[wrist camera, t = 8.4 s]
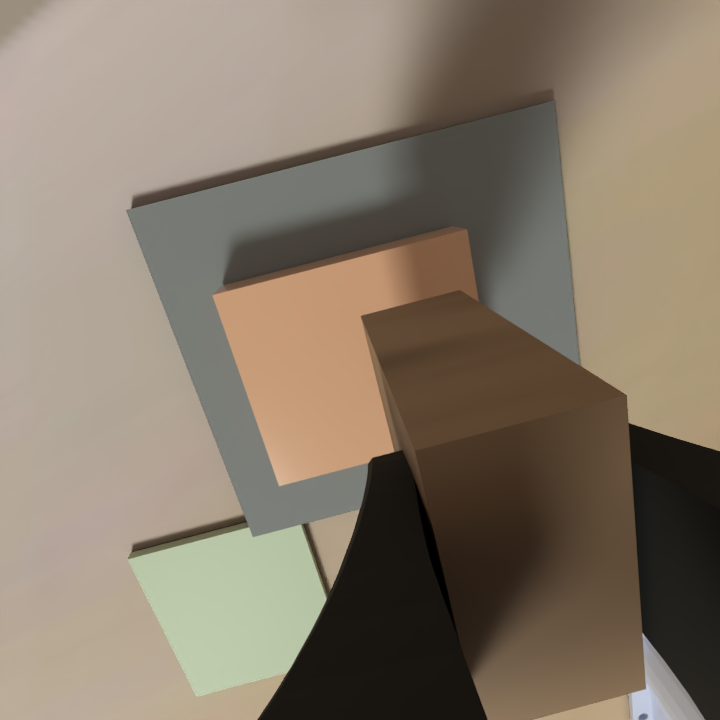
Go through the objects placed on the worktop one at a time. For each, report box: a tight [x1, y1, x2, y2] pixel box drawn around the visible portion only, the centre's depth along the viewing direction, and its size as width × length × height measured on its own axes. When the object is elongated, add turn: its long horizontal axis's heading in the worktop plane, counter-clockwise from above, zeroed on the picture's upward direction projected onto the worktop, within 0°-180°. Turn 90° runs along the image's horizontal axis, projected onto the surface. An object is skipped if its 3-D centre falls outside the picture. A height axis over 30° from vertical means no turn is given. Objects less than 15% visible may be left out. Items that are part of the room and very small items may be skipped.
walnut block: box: [361, 290, 646, 720], centre depth 10 cm, size 5×3×7 cm, turn 14°
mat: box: [126, 100, 579, 537], centre depth 18 cm, size 13×14×1 cm
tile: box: [212, 226, 479, 486], centre depth 17 cm, size 7×2×8 cm
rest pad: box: [127, 522, 328, 697], centre depth 21 cm, size 8×7×1 cm
